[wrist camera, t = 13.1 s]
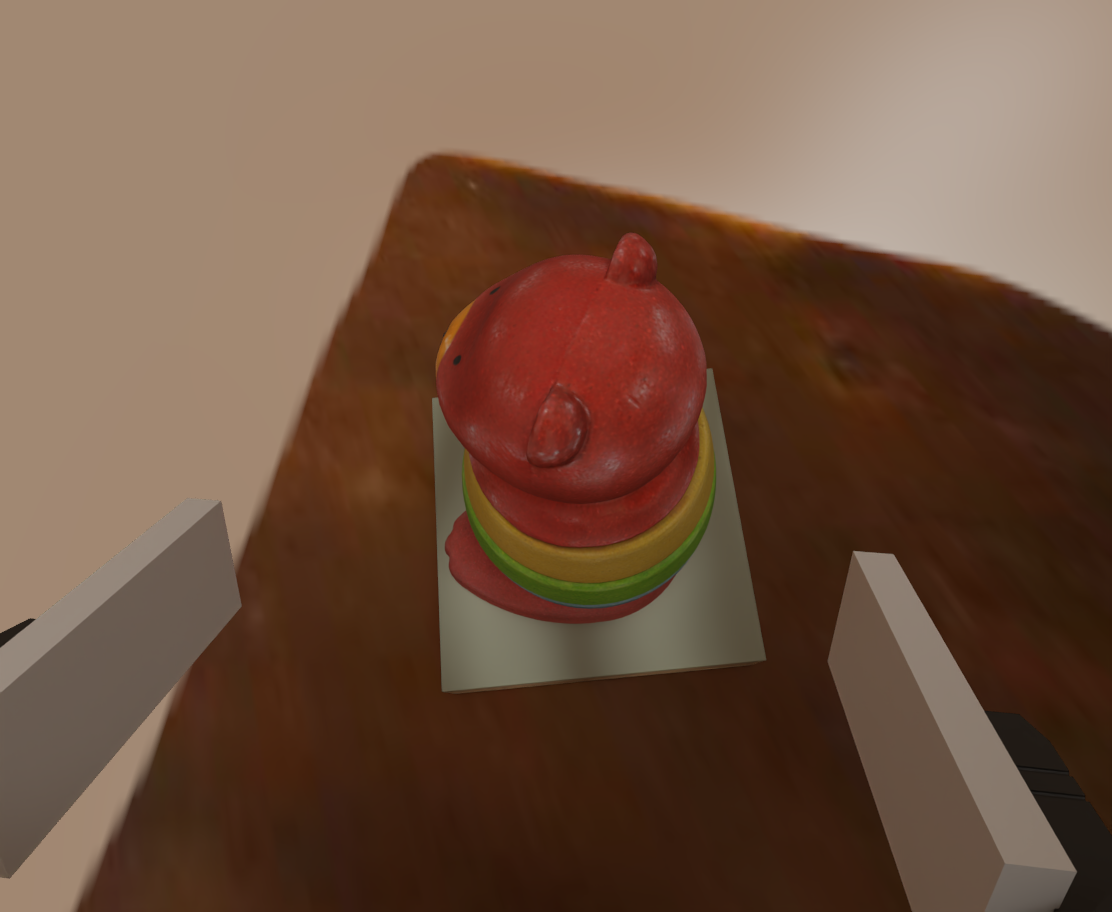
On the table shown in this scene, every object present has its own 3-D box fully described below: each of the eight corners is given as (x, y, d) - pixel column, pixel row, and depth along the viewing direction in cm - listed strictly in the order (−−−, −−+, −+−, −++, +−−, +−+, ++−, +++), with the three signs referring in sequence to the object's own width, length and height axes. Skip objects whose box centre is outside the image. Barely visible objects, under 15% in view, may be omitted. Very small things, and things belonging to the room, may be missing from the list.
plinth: (703, 394, 38) (712, 368, 36) (752, 665, 33) (766, 660, 31) (444, 421, 39) (432, 398, 36) (454, 693, 34) (441, 691, 31)
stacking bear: (546, 381, 36) (500, 86, 19) (733, 472, 34) (866, 228, 17) (429, 569, 33) (254, 415, 16) (626, 682, 31) (659, 639, 14)
